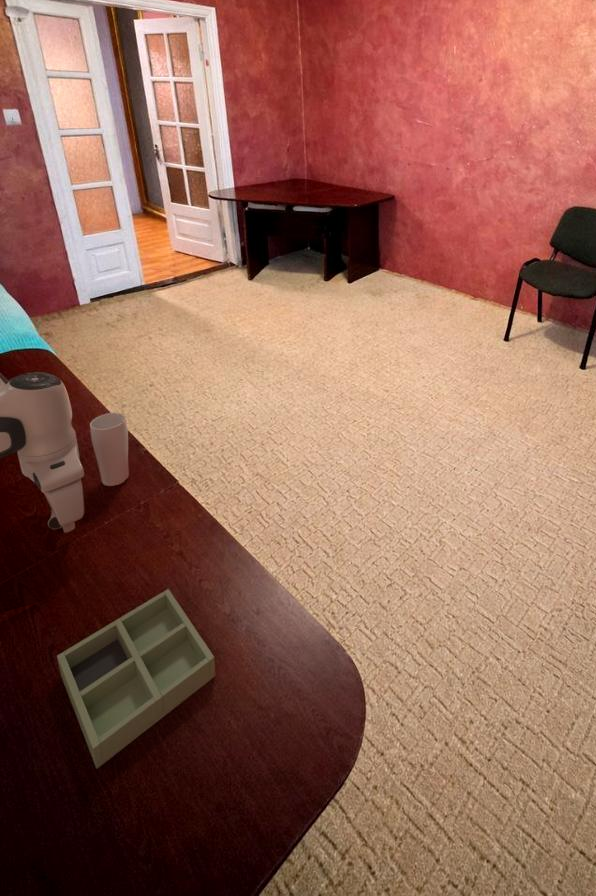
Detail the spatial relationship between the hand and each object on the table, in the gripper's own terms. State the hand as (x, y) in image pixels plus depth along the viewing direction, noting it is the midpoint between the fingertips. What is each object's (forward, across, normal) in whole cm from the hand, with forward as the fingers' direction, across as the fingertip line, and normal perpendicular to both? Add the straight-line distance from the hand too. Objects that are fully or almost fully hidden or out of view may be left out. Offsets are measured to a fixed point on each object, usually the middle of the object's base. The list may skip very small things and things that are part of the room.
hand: (61, 515), depth 93 cm
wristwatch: (+2, 0, 0) cm, 2 cm away
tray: (+2, +39, 0) cm, 39 cm away
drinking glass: (+2, -7, +12) cm, 14 cm away
